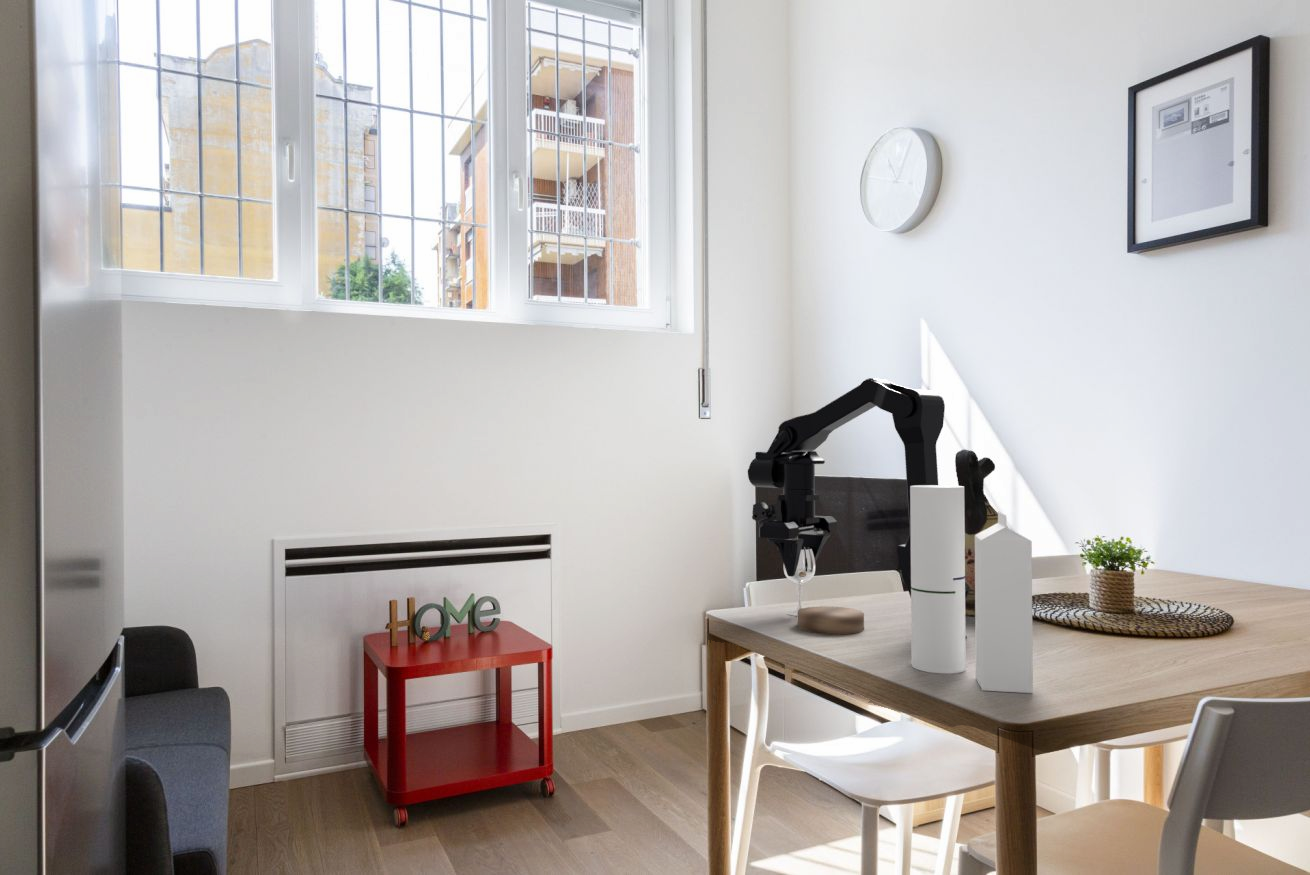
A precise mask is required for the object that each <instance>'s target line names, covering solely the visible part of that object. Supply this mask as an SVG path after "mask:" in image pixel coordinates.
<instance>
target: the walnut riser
mask: <svg viewBox="0 0 1310 875" xmlns="http://www.w3.org/2000/svg"><path fill="white" fill-rule="evenodd" d="M797 628H798V629H800V630H802V631H803V632H808V633H814V634H819V635H820V634H822V635H850V634H851V633H852V634H857V633H861V632H863V631H864V630H865V612H863V611H862V610H860V609H859V610H858V609H856V608H850V607H844V606H843V607H842V606H824V605H823V606H820V605H819V606H808V607H803V608H802V609H800V610H798V616H797Z"/></svg>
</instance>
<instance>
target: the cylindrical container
mask: <svg viewBox="0 0 1310 875" xmlns="http://www.w3.org/2000/svg"><path fill="white" fill-rule="evenodd" d="M910 525H911V597H910V618H911V621H910V622H911V623H910V626H911V627H910V628H911V629H910V633H911V634H910V641H911V643H910V647H911V648H910V649H911V652H910V653H911V658H910V659H911V667H912V668H914V669H916V670H919V671H922V672H925V673H931V674H943V675H945V674H947V675H948V674H959V673H962V672H965V671H966V668H967V666H966V665H967V664H966V663H967V658H966V654H967V653H966V648H967V647H966V644H967V643H966V640H967V639H965V635H966V614H965V577H964V576H965V514H964V486H959V485H949V484H948V485H943V484H938V485H915V486H910Z"/></svg>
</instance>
